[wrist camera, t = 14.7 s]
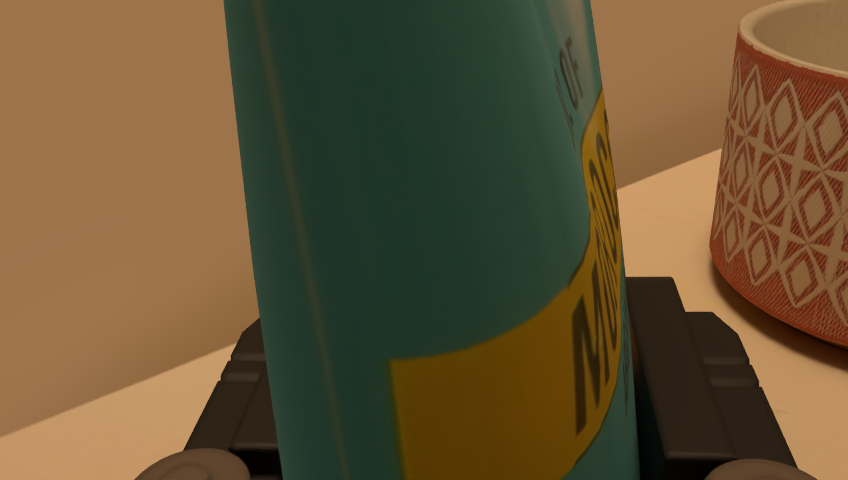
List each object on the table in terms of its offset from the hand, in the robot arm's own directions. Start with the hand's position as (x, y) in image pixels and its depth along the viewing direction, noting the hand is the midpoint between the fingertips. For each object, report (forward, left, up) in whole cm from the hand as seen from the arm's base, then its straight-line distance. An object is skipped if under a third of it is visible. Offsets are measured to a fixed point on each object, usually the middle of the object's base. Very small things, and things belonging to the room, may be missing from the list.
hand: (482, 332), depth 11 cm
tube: (0, -3, -11) cm, 11 cm away
